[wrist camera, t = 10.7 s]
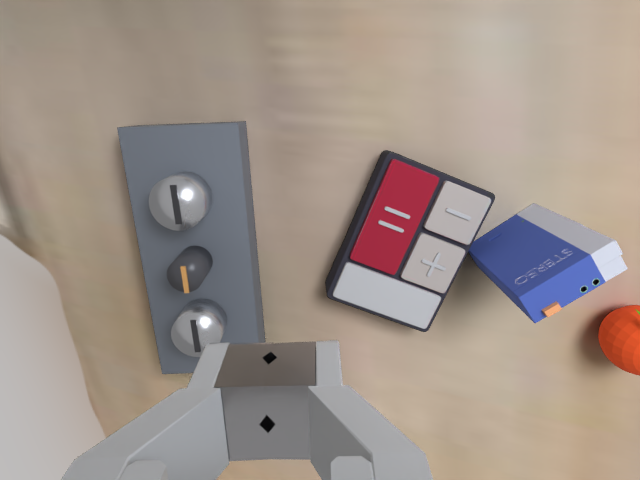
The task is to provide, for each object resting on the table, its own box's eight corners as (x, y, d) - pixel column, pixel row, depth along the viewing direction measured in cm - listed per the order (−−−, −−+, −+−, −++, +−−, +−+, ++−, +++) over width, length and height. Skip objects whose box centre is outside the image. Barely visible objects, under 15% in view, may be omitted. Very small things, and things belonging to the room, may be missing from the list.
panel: (137, 125, 38) (117, 127, 34) (245, 121, 38) (237, 123, 34) (175, 351, 45) (162, 374, 41) (265, 348, 45) (261, 370, 41)
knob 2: (190, 282, 43) (166, 315, 36) (232, 280, 43) (217, 313, 36) (195, 320, 44) (174, 358, 37) (236, 318, 44) (222, 357, 37)
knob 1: (173, 166, 39) (143, 178, 32) (219, 164, 39) (199, 176, 32) (180, 211, 40) (152, 232, 34) (224, 209, 40) (206, 230, 34)
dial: (177, 246, 37) (163, 260, 34) (210, 244, 37) (200, 259, 34) (182, 276, 38) (168, 293, 35) (214, 275, 38) (204, 292, 35)
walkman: (478, 267, 43) (537, 326, 31) (464, 246, 42) (520, 299, 30) (547, 224, 41) (635, 269, 30) (534, 202, 40) (620, 240, 29)
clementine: (572, 303, 44) (618, 339, 37) (636, 274, 43) (696, 306, 36) (594, 360, 46) (642, 403, 39) (655, 333, 45) (715, 373, 38)
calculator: (501, 196, 37) (429, 337, 40) (481, 189, 41) (417, 318, 45) (390, 150, 36) (325, 300, 39) (381, 148, 40) (323, 284, 43)
